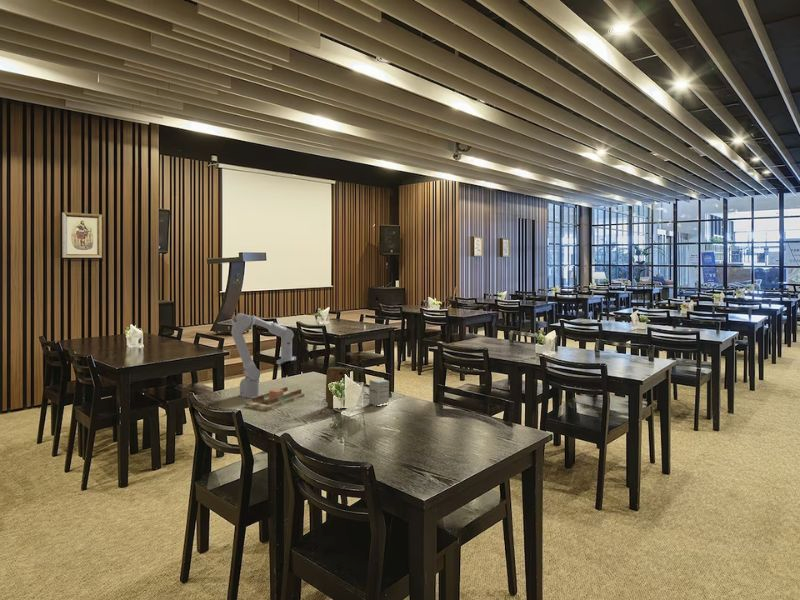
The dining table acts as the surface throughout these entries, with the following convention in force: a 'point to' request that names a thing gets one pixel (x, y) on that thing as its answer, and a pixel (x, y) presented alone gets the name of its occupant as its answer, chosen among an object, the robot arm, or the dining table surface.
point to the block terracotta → (275, 393)
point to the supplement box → (378, 391)
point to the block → (333, 376)
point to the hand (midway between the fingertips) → (286, 375)
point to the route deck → (274, 400)
